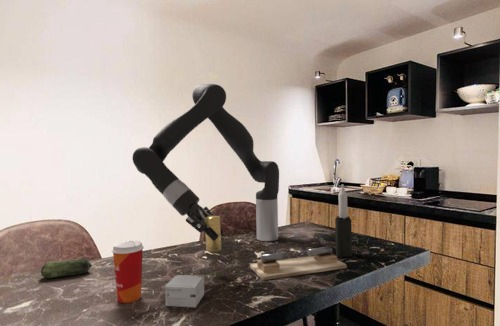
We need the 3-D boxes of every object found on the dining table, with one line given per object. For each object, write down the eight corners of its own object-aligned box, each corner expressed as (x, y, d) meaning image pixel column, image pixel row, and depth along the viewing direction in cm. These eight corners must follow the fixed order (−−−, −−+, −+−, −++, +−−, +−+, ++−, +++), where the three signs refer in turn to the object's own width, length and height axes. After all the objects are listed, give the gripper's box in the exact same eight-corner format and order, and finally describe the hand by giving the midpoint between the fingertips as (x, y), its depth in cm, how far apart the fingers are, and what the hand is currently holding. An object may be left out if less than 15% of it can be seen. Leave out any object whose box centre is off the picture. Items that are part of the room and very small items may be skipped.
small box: (164, 307, 79) (164, 285, 78) (176, 293, 86) (176, 274, 86) (195, 308, 77) (195, 287, 77) (205, 294, 85) (204, 275, 85)
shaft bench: (249, 267, 105) (249, 257, 105) (326, 256, 114) (326, 248, 114) (262, 280, 94) (262, 269, 93) (346, 267, 102) (346, 258, 102)
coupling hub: (204, 248, 102) (203, 216, 102) (219, 246, 103) (218, 215, 103) (207, 252, 98) (206, 219, 97) (222, 250, 99) (221, 218, 99)
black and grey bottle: (349, 252, 118) (348, 183, 118) (352, 256, 113) (351, 184, 112) (335, 252, 119) (334, 183, 118) (337, 256, 114) (336, 185, 113)
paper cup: (118, 292, 87) (117, 240, 87) (148, 291, 88) (146, 239, 87) (108, 306, 79) (106, 249, 79) (140, 304, 80) (139, 247, 80)
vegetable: (39, 282, 96) (38, 265, 96) (43, 276, 101) (42, 260, 101) (91, 275, 101) (91, 259, 101) (93, 269, 106) (92, 254, 106)
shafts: (260, 261, 101) (260, 253, 101) (328, 252, 108) (328, 245, 108) (263, 263, 99) (263, 256, 99) (332, 254, 106) (332, 247, 106)
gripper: (178, 191, 94) (220, 234, 92) (197, 186, 108) (233, 222, 106) (162, 209, 96) (203, 251, 94) (182, 201, 110) (218, 238, 108)
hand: (219, 236), depth 100 cm, fingers closed on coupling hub, 4 cm apart
